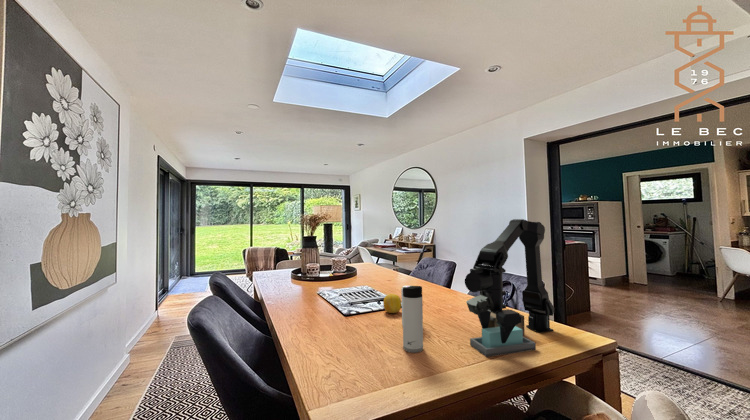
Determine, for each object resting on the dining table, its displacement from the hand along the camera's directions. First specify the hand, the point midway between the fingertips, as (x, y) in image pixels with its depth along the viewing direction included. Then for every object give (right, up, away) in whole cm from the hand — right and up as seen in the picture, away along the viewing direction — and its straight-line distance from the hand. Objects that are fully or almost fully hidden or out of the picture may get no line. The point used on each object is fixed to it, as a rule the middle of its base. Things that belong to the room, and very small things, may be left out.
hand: (493, 337), depth 95 cm
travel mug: (-25, -4, 0) cm, 26 cm away
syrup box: (-24, -5, +22) cm, 33 cm away
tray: (+3, -4, +1) cm, 5 cm away
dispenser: (+8, -4, +12) cm, 15 cm away
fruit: (-30, -5, +37) cm, 48 cm away
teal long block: (+3, -3, +1) cm, 4 cm away
